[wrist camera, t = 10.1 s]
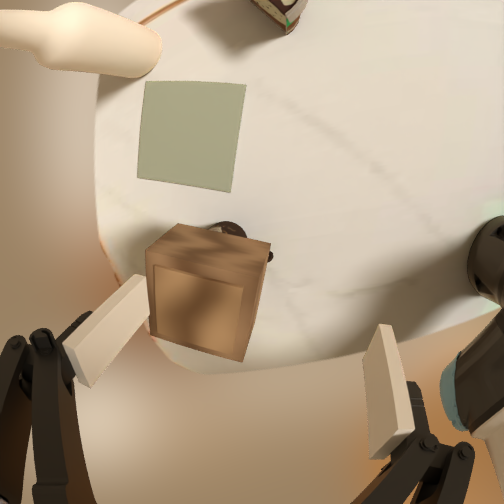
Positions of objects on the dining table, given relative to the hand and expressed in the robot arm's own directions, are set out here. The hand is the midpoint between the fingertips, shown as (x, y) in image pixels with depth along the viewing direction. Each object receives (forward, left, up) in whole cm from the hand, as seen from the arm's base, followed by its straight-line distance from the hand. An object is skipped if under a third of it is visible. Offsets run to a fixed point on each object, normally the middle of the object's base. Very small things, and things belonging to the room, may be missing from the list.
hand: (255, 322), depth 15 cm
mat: (+17, -7, -28) cm, 33 cm away
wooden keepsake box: (+7, +9, -18) cm, 22 cm away
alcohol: (+27, -20, -28) cm, 44 cm away
